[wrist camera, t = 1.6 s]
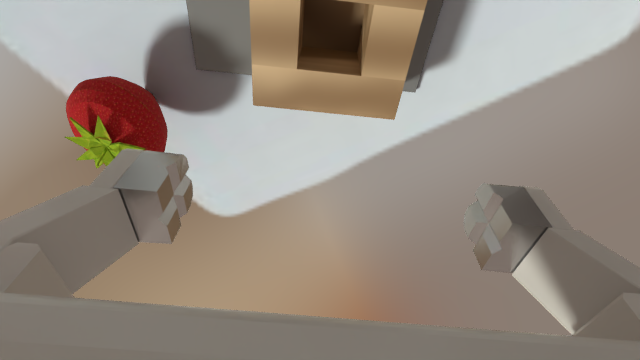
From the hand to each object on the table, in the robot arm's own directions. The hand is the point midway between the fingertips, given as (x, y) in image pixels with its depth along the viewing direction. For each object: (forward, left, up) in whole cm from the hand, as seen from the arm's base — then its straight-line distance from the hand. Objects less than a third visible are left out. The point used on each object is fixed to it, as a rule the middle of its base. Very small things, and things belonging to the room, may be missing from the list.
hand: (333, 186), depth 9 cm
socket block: (0, 0, -19) cm, 19 cm away
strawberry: (+8, -15, -19) cm, 26 cm away
